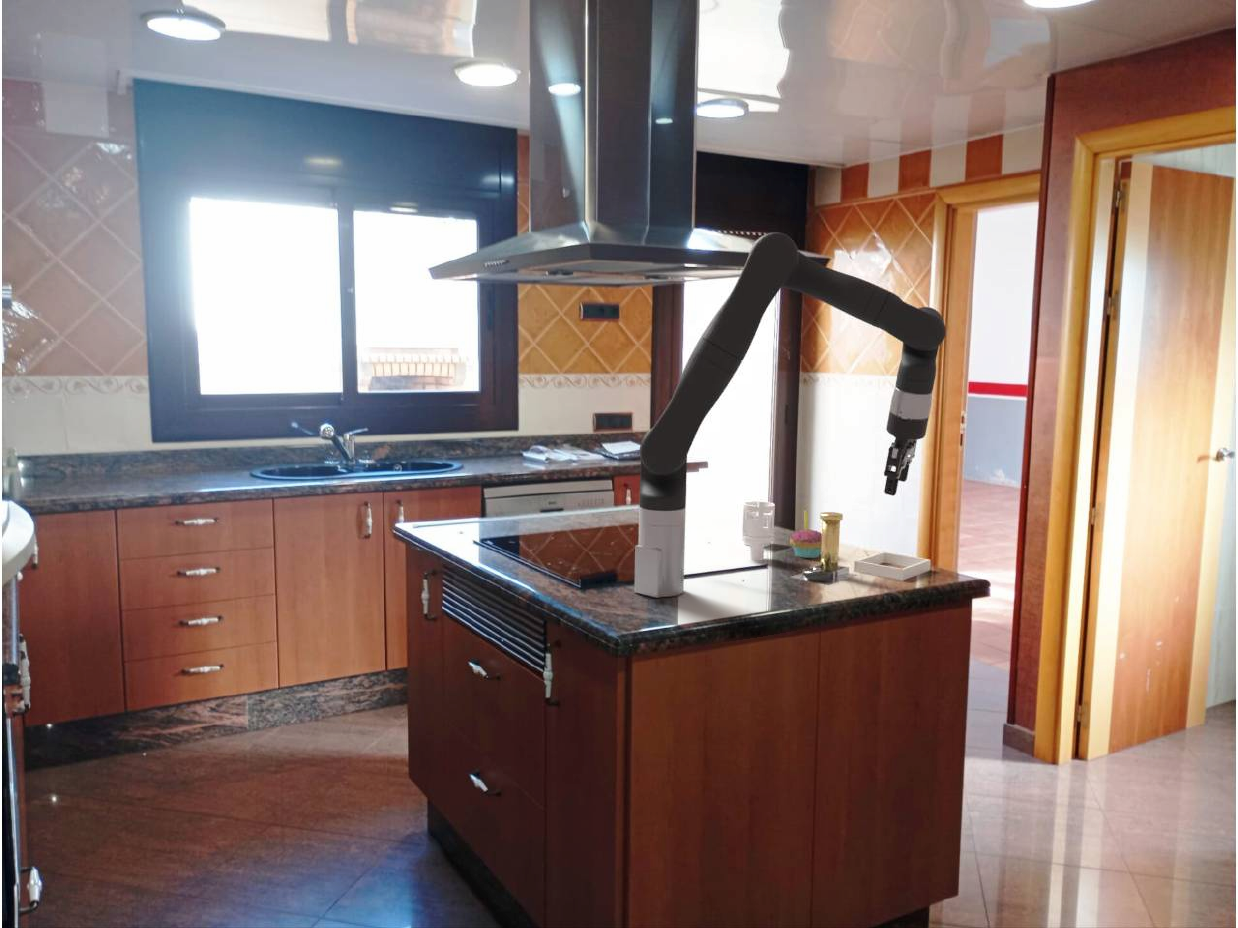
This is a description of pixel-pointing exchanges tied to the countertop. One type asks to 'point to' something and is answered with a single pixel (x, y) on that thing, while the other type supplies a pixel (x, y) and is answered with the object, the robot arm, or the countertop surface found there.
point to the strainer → (757, 526)
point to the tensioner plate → (835, 575)
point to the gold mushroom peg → (830, 540)
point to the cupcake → (806, 541)
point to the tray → (912, 567)
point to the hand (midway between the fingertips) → (895, 487)
